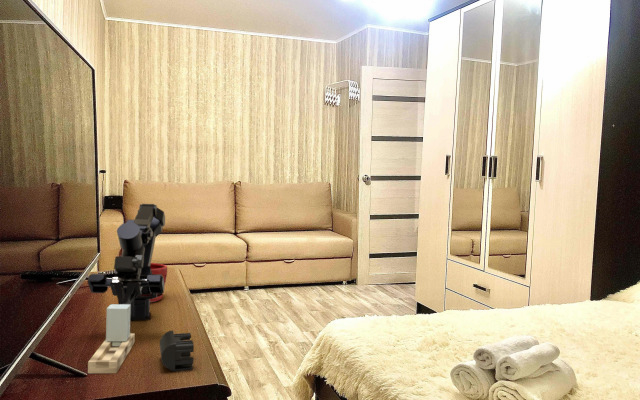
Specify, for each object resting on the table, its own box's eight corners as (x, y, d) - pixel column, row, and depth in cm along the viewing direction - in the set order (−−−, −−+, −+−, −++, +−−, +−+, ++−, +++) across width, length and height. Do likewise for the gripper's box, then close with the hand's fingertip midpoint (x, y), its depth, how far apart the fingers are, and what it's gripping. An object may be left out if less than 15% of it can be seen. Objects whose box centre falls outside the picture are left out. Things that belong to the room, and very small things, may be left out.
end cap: (159, 358, 129) (159, 330, 128) (189, 355, 131) (189, 329, 130) (160, 374, 119) (161, 344, 119) (193, 371, 121) (194, 342, 121)
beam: (109, 343, 137) (110, 333, 137) (134, 342, 138) (135, 333, 138) (87, 373, 117) (87, 361, 117) (116, 373, 118) (116, 361, 118)
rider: (110, 341, 134) (110, 304, 133) (129, 341, 135) (130, 304, 134) (105, 346, 130) (106, 308, 129) (126, 346, 131) (127, 308, 130)
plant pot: (159, 305, 174) (160, 269, 173) (119, 303, 174) (120, 267, 174) (171, 296, 187) (172, 262, 186) (134, 294, 187) (135, 260, 187)
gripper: (90, 242, 138) (76, 294, 128) (164, 244, 141) (156, 295, 130) (97, 267, 146) (85, 317, 136) (167, 268, 149) (160, 318, 139)
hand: (121, 311), depth 135 cm, fingers closed
